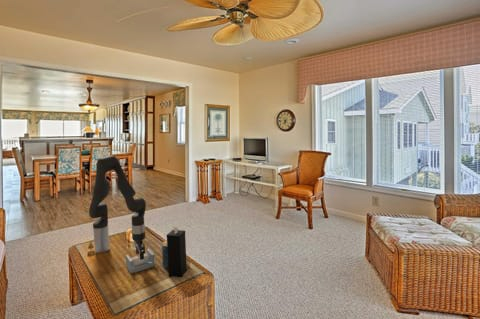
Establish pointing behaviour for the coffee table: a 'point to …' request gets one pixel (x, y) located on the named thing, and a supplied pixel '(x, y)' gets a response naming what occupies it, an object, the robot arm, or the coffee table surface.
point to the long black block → (176, 253)
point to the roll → (139, 261)
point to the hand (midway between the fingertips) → (140, 256)
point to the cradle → (141, 267)
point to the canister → (165, 255)
